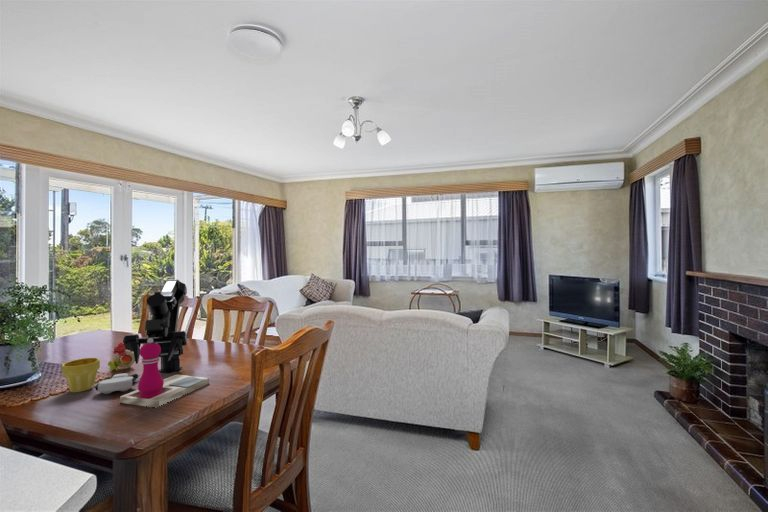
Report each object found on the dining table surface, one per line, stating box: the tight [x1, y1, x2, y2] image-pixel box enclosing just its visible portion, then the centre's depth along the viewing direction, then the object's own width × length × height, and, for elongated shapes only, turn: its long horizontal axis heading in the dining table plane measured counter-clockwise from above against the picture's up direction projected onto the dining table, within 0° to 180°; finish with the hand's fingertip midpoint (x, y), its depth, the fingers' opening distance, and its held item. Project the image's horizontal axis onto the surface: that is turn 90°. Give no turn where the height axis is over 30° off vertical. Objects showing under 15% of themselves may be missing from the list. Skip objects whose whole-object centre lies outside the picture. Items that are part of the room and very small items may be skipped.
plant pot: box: [61, 357, 101, 393], centre depth 131 cm, size 10×10×10 cm
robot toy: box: [91, 373, 141, 395], centre depth 131 cm, size 12×4×15 cm
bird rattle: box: [107, 342, 136, 372], centre depth 153 cm, size 6×11×9 cm
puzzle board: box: [119, 374, 210, 409], centre depth 127 cm, size 15×22×2 cm
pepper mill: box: [137, 338, 164, 399], centre depth 122 cm, size 7×7×20 cm
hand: (152, 361), depth 124 cm, fingers open, 9 cm apart
